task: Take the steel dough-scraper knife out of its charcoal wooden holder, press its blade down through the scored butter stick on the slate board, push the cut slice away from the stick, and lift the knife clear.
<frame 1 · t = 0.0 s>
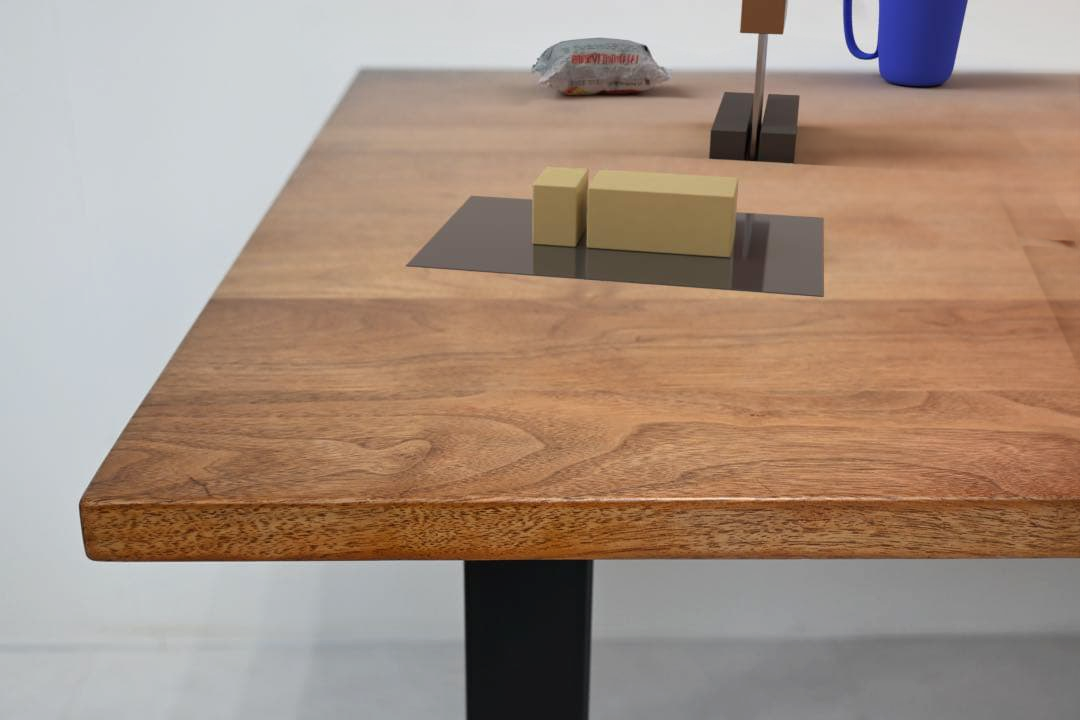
knife holder: (755, 150, 96), on the table
butter stick: (661, 242, 71), point 1 cm above the table, touching butter board
scraper knife: (755, 144, 96), resting on knife holder
packaged food: (599, 97, 115), on the table
butter board: (626, 259, 72), on the table
butter slice: (560, 235, 72), point 1 cm above the table, touching butter board
mug: (894, 81, 123), on the table
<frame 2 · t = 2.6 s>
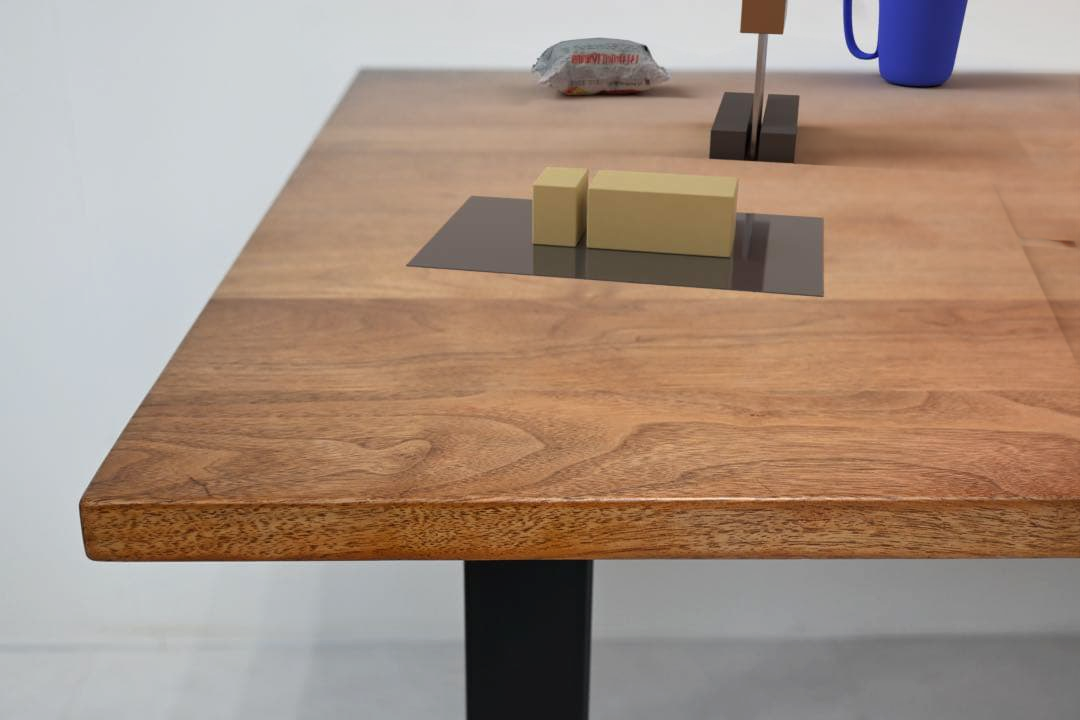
nothing on the table moved.
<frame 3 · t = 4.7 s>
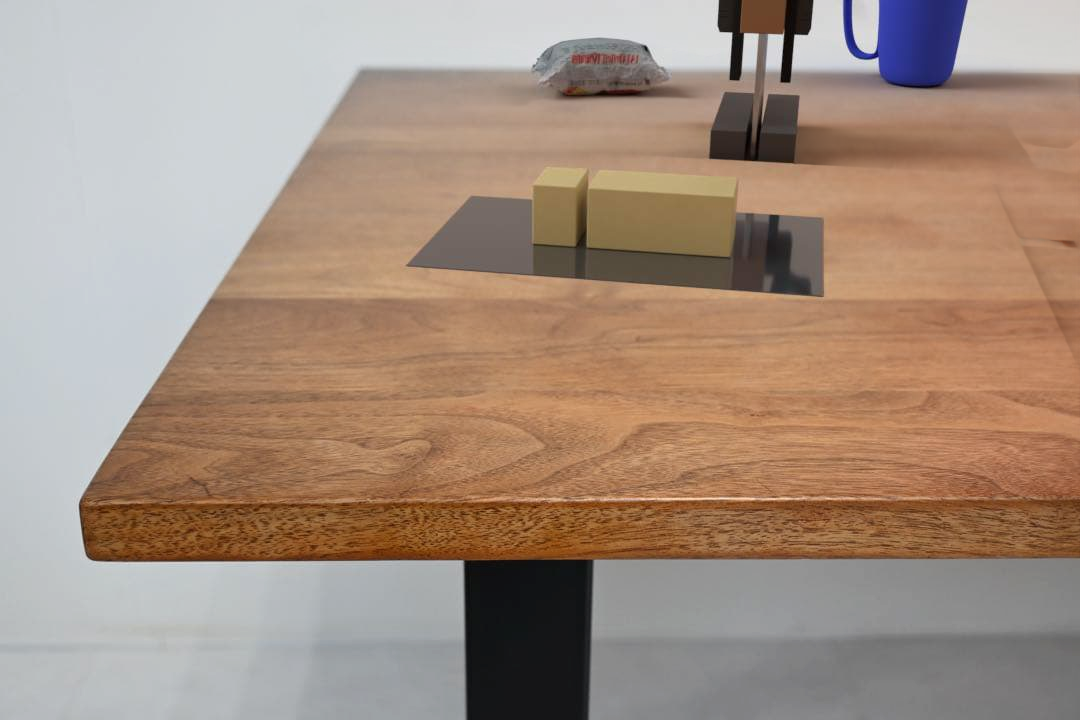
hand: (760, 77, 94), 6 cm above the table, tool pointing down, fingers closed on scraper knife, 3 cm apart
scraper knife: (755, 144, 96), resting on knife holder, touching gripper
everything else where it was.
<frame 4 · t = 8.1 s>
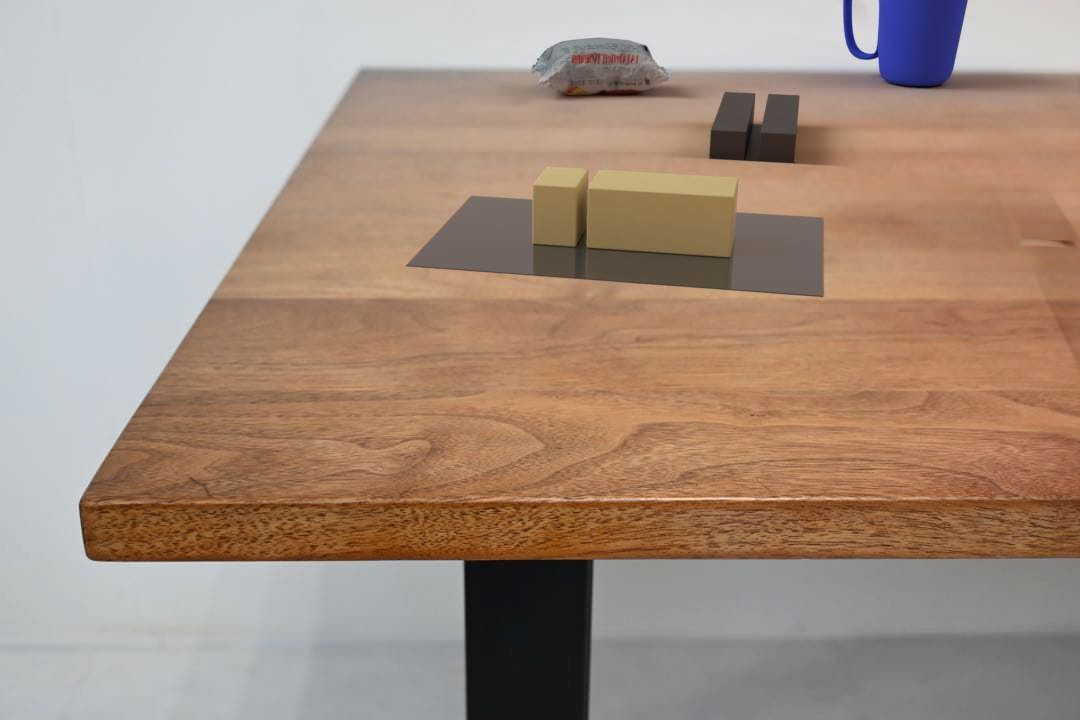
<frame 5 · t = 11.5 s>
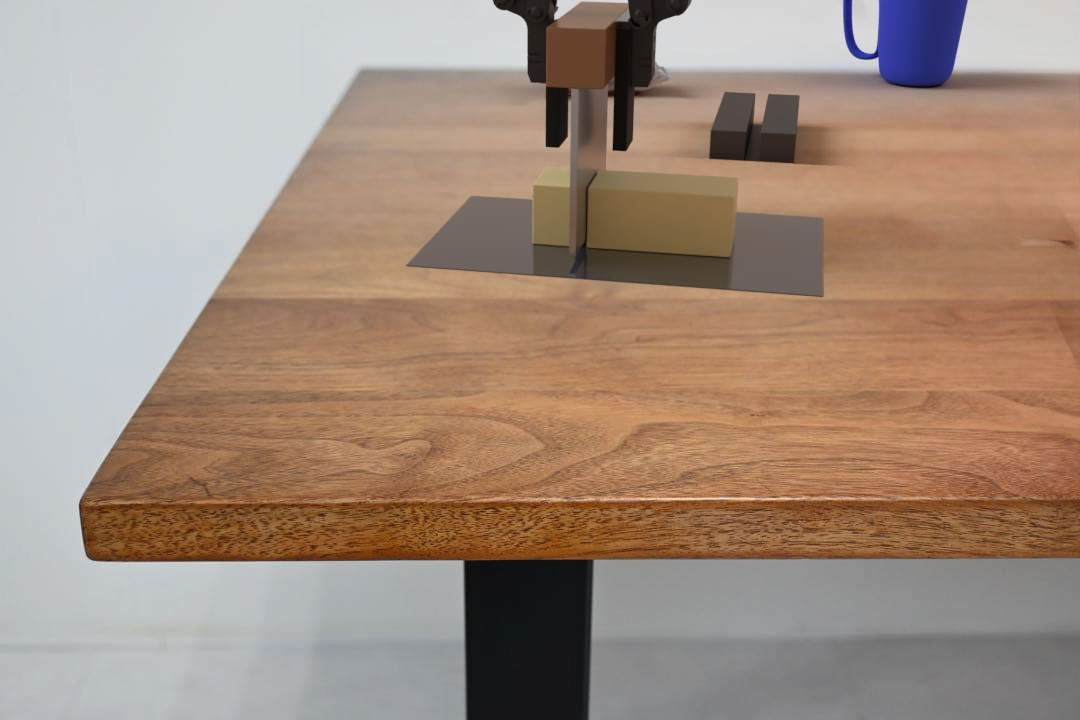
hand: (589, 142, 70), 7 cm above the table, tool pointing down, fingers closed on scraper knife, 3 cm apart
scraper knife: (588, 229, 72), point 2 cm above the table, touching gripper
everything else where it was.
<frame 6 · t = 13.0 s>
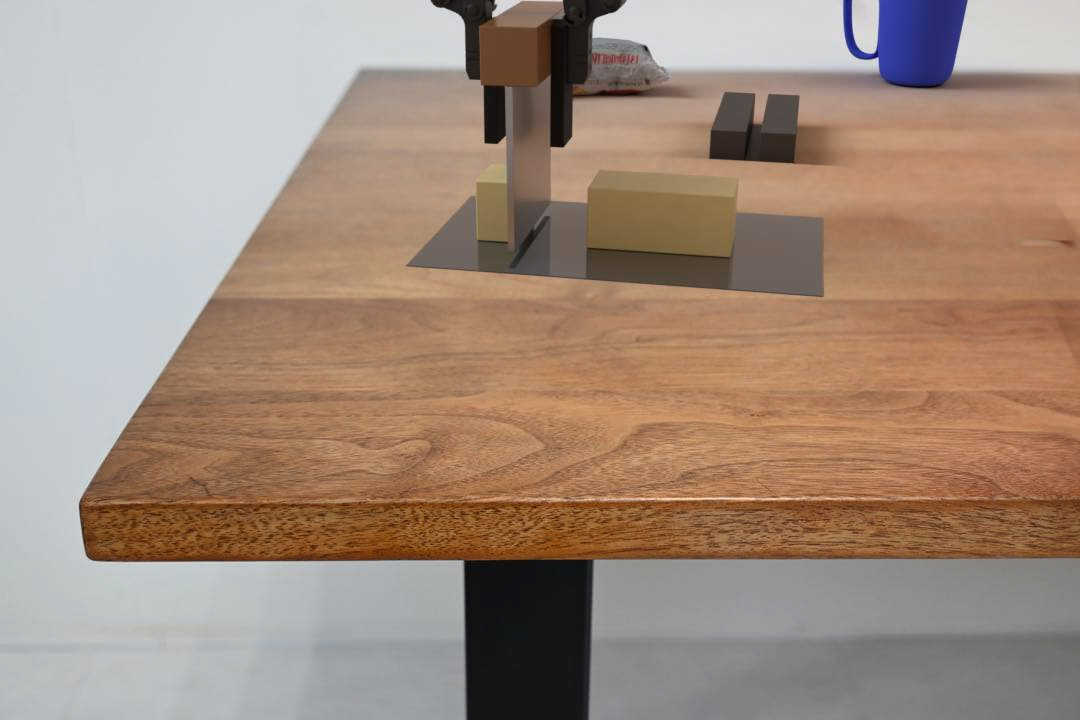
hand: (528, 139, 71), 7 cm above the table, tool pointing down, fingers closed on scraper knife, 3 cm apart
scraper knife: (530, 226, 73), point 2 cm above the table, touching gripper
butter slice: (506, 231, 73), point 1 cm above the table, touching butter board
everything else where it was.
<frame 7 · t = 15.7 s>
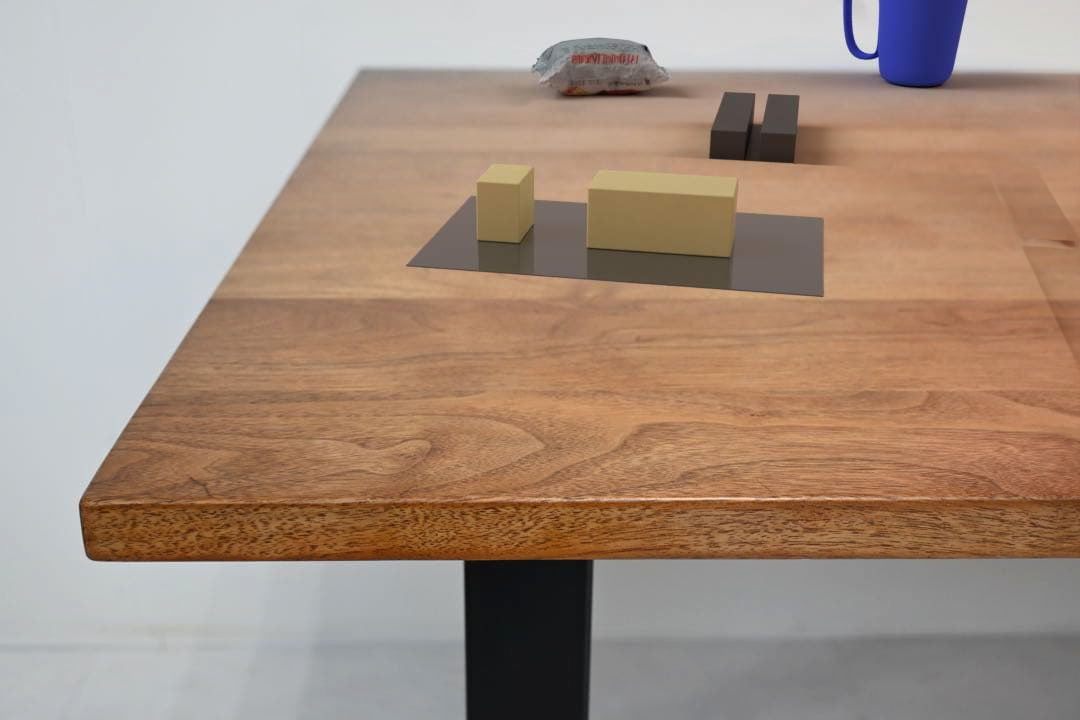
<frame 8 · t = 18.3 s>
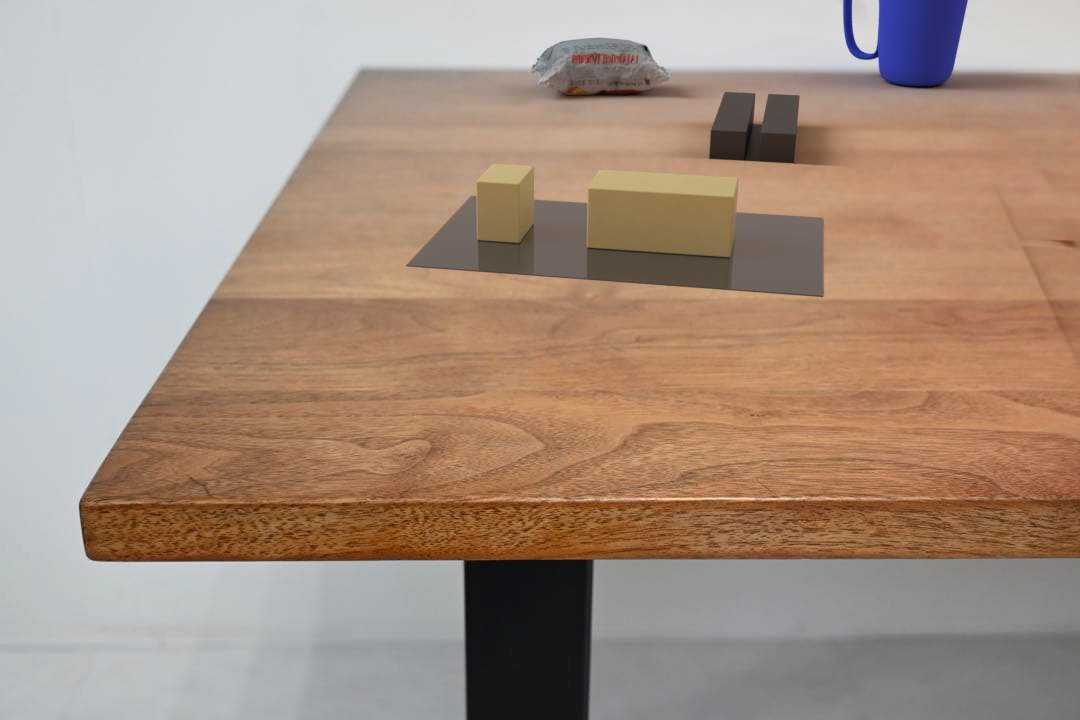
at the end: butter slice inside the target area on the butter board (1.2 cm from its centre), point 1.2 cm above the butter board's base; butter stick moved 0.0 cm from its start; the gripper is holding scraper knife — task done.
